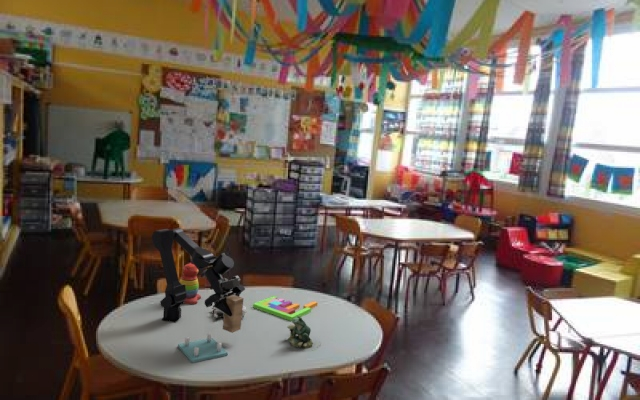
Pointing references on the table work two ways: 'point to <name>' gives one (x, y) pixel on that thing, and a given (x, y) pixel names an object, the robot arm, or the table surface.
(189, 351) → the peg plate
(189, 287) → the stacking bear
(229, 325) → the walnut pillar
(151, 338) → the table surface
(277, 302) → the toy blocks
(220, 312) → the robot toy
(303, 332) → the frog figurine
